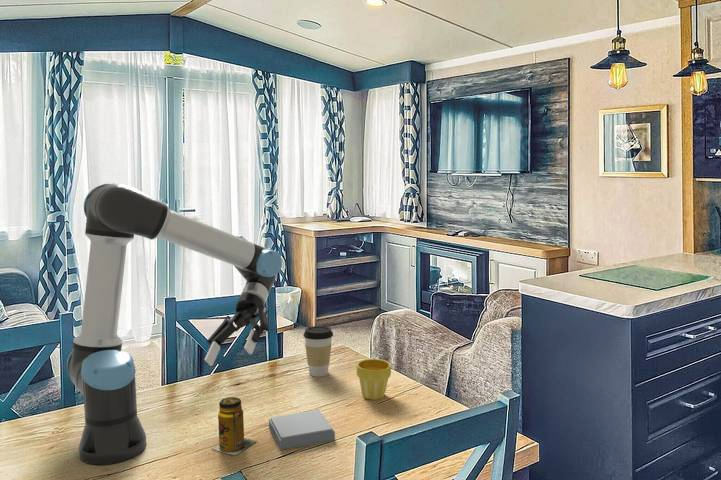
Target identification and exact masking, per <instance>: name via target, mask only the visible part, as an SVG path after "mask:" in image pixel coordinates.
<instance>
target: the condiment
mask: <svg viewBox="0 0 721 480" xmlns="http://www.w3.org/2000/svg"><path fill="white" fill-rule="evenodd" d="M218 409H219V411H218V413H217V419H218V442H219V443H218V445H216V446H215V447H212V450H214V451H217V452H219V453H224V454H227V455H232V456H237V455H238V454H240V453H241V452H243V451H244V450H246V449H247V448H249V447H250V446H252V445H253V444H254V443H255V442H257V441H258V440H257V439H251V438H247V437H245V433H244V432H245V427H244V426H245V425H244V423H245V421H244V411H243V409H242V400H241V399H240V398H239V397H237V396H235V397H234V396H229V397H225V398H222V399H220V400H219V408H218Z"/></svg>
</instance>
